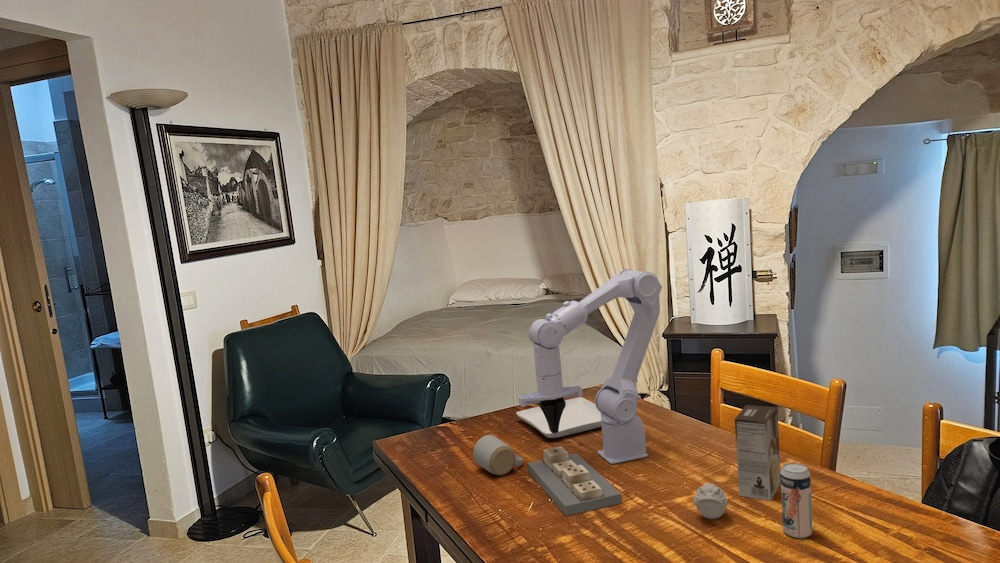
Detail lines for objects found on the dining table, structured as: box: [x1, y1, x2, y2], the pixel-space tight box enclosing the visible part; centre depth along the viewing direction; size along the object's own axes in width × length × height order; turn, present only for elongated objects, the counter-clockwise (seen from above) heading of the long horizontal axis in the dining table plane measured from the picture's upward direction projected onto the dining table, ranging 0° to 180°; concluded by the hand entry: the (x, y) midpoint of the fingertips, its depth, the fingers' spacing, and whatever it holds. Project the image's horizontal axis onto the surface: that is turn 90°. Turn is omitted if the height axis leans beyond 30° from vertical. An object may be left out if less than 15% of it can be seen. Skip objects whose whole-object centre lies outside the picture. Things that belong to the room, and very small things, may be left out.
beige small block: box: [562, 465, 590, 490], centre depth 143 cm, size 4×4×3 cm
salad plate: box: [515, 396, 602, 439], centre depth 185 cm, size 21×21×3 cm
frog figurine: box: [693, 482, 729, 520], centre depth 126 cm, size 6×7×7 cm
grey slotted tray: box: [526, 452, 623, 517], centre depth 146 cm, size 12×24×2 cm, turn 16°
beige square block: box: [573, 480, 602, 502], centre depth 137 cm, size 4×4×3 cm
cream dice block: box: [553, 460, 577, 479], centre depth 149 cm, size 4×4×3 cm
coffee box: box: [734, 404, 781, 501], centre depth 135 cm, size 9×6×16 cm
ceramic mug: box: [472, 434, 524, 476], centre depth 158 cm, size 11×8×8 cm
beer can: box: [780, 462, 814, 539], centre depth 118 cm, size 5×5×12 cm
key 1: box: [542, 445, 569, 469], centre depth 154 cm, size 4×4×3 cm
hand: (554, 431), depth 153 cm, fingers closed
